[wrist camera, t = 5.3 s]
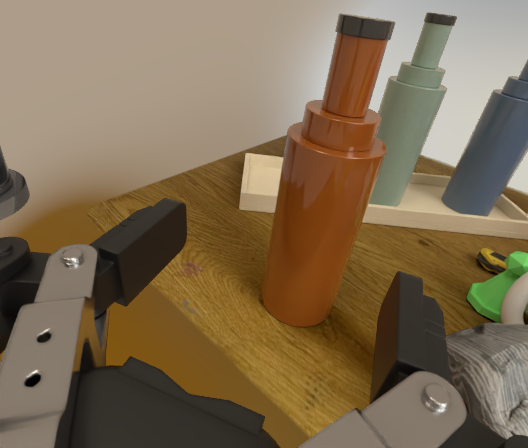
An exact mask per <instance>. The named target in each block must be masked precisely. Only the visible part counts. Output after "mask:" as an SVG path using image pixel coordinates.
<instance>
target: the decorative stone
mask: <svg viewBox="0 0 528 448" xmlns="http://www.w3.org/2000/svg"><path fill="white" fill-rule="evenodd" d="M445 340H446V344H447V353H448V361H449V370H450V378H451V385H452V386H453V387H454V388H455V389H456V390H457V391H458V393H459V394H460V395H461V397H462V399H463V401H464V403H465V407H466V410H467V411H468V412H469V413H470V414H471V415H472V416H473V417H475V418H476V419H477V420H479V421H480V422H481V423H483V424H484V425H486V426H487V427H489V428H490V429H492V430H493V431H495V432H496V433H498V434H499V435H501V436H502V437H504V438H505V439H506V440H507V439H508V438H509V437H511V436H513V435H525V436H528V325H520V324H509V325H506V324H501V323H483V324H479V325H477V326H475V327H473V328H468V329H464V330H461V331H457V332H455V333H453V334H450V335H447V336H446V337H445Z"/></svg>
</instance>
